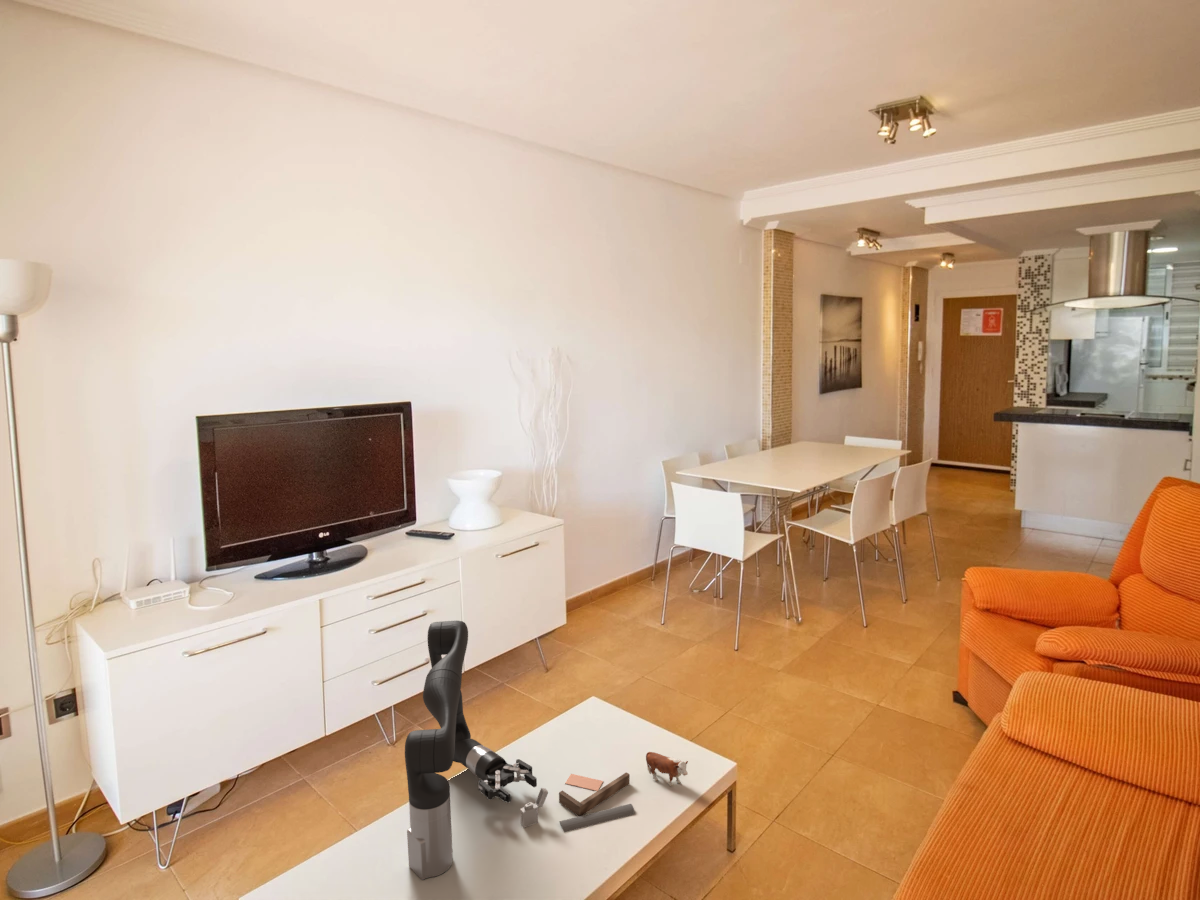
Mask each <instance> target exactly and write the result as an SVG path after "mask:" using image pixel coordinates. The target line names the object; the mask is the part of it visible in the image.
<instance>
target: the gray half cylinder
mask: <svg viewBox="0 0 1200 900" xmlns="http://www.w3.org/2000/svg"><path fill="white" fill-rule="evenodd" d="M634 808H635V807H634V805H633V804H632V803H627V804H625V805H620V806H619V805H618V806H615V807H612V808H608V809H604V810H600V811H595V812H591V813H588V814H587V813H586V814H584V815H583V816H575V817H572V818H568V819H563V820H560V821H559V824H560V826H561V829H562V830H563V831H562V832H564V833H566V832H571V831H575V830H578V829H583V828H588V827H591V826H595V825H598V824H602V823H606V822H610V821H615V820H618V819H622V818H626V817H630V816H634V815H635V809H634Z"/></svg>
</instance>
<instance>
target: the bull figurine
mask: <svg viewBox="0 0 1200 900" xmlns="http://www.w3.org/2000/svg"><path fill="white" fill-rule="evenodd" d="M645 761H646V765H647V766H646V767H647V771H648V773H649V774H650V775H652V779H653V780H654V782H658V781H659V779H658V777H657V775H656V774H657V772H656V769H657V771H658V772H660V773H661V774H667V775H668V777H669V781H668V783H667V784H668V785H669V787H673V786H674V784H673V779H674V778H676V780H675V782H676V784H678V785H679V784H681V780H680V778H679V777H680V776H682V775H683V776H684V777H685V776H687V775H688V771H687V764H688V762H689V760H686V761H681V760H680V759H679V758H674V757H669V756H666V755H663V754H661V753H657V752H653V751H648V752H647V753H646V755H645Z"/></svg>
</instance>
